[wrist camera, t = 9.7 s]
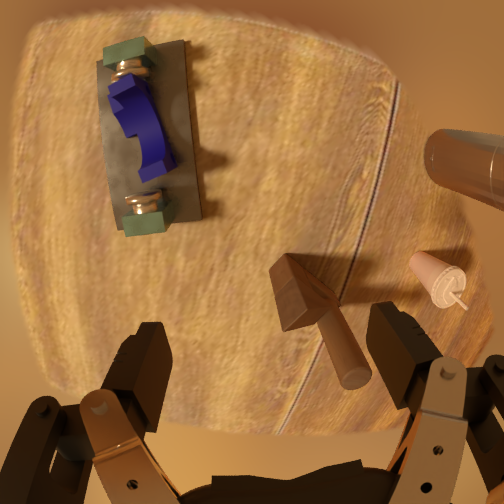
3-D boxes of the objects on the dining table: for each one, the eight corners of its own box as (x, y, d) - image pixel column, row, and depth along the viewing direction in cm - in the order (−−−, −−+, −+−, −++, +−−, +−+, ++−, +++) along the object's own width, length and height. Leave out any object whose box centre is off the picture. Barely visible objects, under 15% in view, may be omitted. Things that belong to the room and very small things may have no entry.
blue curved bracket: (116, 97, 30) (96, 92, 25) (147, 82, 30) (131, 73, 24) (146, 180, 35) (130, 188, 29) (178, 166, 34) (167, 172, 29)
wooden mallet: (284, 251, 40) (316, 332, 24) (334, 292, 43) (380, 375, 27) (267, 270, 41) (286, 358, 25) (318, 308, 44) (354, 395, 28)
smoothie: (399, 280, 43) (445, 329, 30) (406, 243, 41) (459, 285, 28) (428, 277, 44) (475, 321, 31) (436, 242, 41) (489, 280, 28)
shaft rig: (184, 41, 29) (174, 24, 23) (202, 218, 38) (196, 234, 32) (99, 62, 29) (76, 52, 23) (119, 228, 38) (101, 245, 32)
